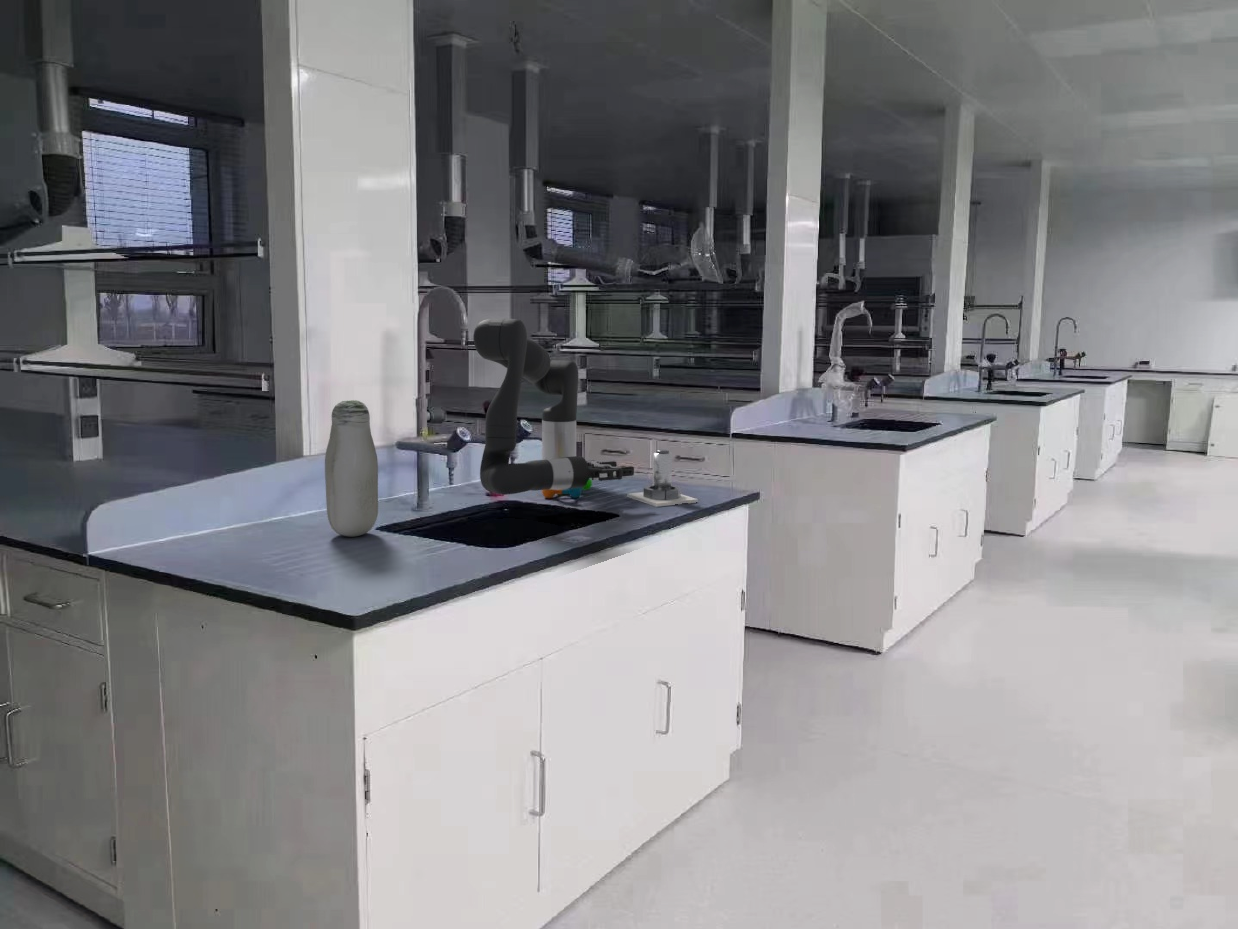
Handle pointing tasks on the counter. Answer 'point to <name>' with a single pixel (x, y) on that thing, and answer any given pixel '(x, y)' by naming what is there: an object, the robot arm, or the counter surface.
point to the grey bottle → (351, 471)
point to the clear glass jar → (662, 470)
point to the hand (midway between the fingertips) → (624, 468)
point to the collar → (662, 493)
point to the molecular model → (567, 491)
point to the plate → (662, 502)
